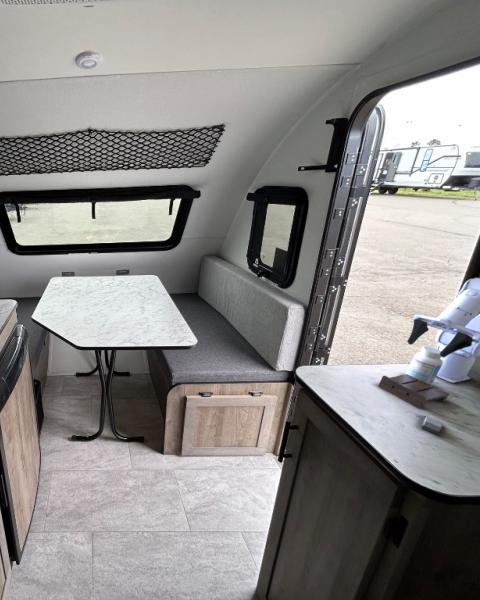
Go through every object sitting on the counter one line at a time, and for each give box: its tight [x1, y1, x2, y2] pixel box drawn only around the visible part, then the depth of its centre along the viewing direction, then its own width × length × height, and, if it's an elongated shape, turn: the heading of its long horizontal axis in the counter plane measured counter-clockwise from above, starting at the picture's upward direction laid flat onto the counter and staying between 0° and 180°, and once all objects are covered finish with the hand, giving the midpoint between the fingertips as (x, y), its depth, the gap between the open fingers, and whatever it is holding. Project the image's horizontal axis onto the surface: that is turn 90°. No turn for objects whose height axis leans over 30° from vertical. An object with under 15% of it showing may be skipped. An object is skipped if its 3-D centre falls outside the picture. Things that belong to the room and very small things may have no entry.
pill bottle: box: [405, 345, 443, 386], centre depth 98 cm, size 6×6×11 cm
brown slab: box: [378, 373, 450, 409], centre depth 94 cm, size 12×10×4 cm
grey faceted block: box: [420, 415, 443, 436], centre depth 81 cm, size 6×3×2 cm, turn 131°
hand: (424, 349), depth 95 cm, fingers open, 7 cm apart
